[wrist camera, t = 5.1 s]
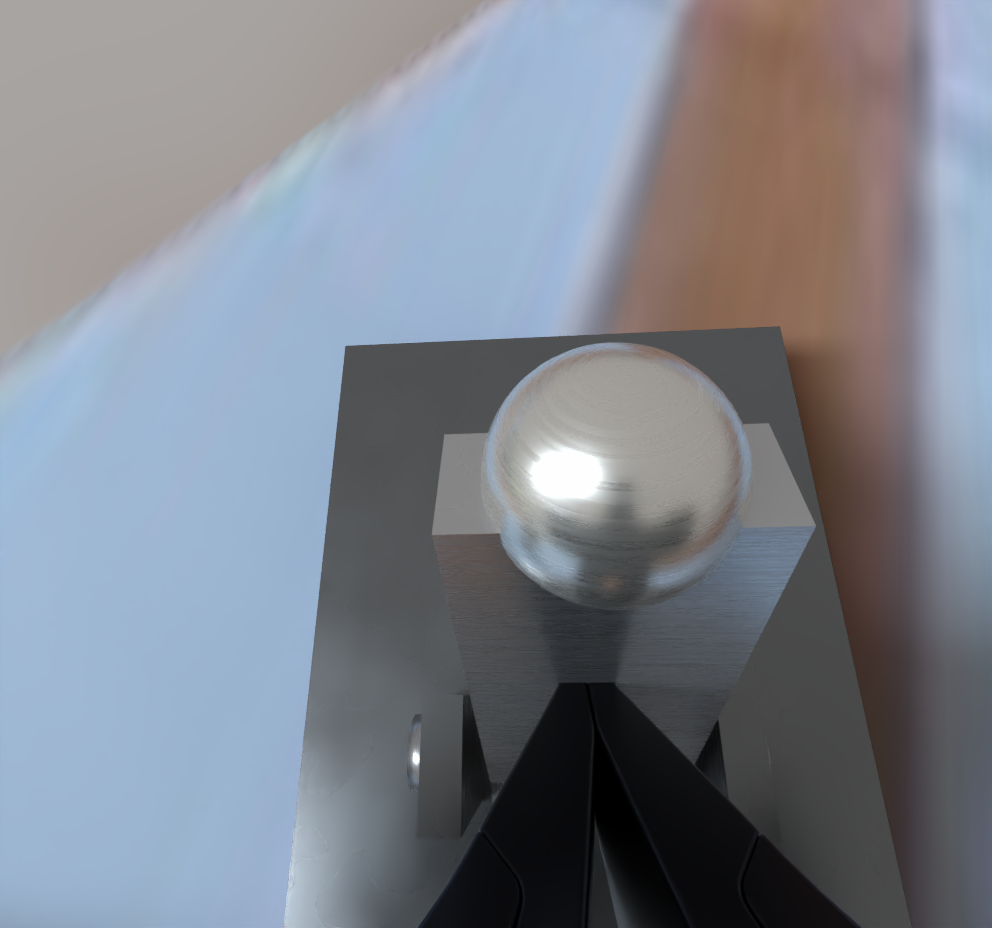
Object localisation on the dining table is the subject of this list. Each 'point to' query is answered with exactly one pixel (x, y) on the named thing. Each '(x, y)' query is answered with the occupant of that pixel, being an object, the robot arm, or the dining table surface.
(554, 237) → the dining table surface
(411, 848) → the lever base
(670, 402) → the lever
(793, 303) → the dining table surface
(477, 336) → the dining table surface
